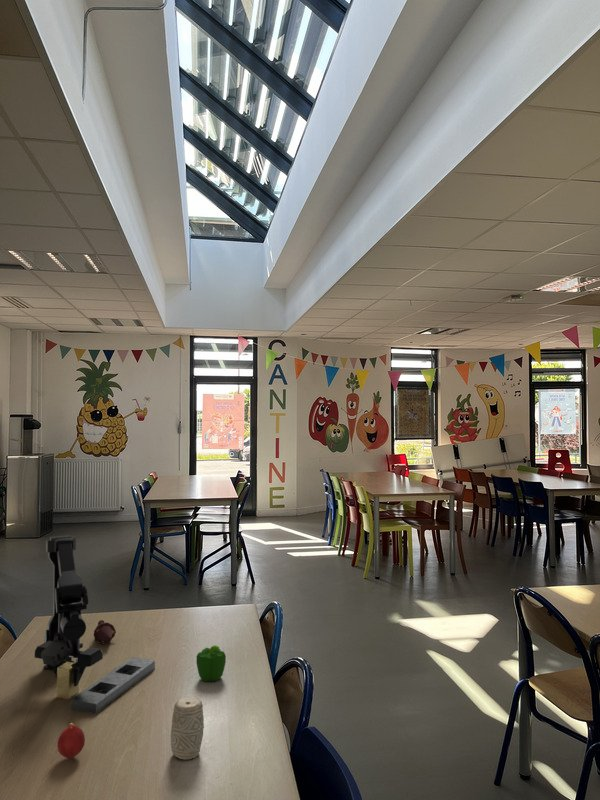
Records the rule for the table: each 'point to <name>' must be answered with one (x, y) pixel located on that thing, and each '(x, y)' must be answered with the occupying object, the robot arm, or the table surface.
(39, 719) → the table surface
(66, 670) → the brass peg
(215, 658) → the bell pepper
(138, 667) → the rail
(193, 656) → the table surface
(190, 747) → the carving
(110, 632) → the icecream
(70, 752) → the onion
